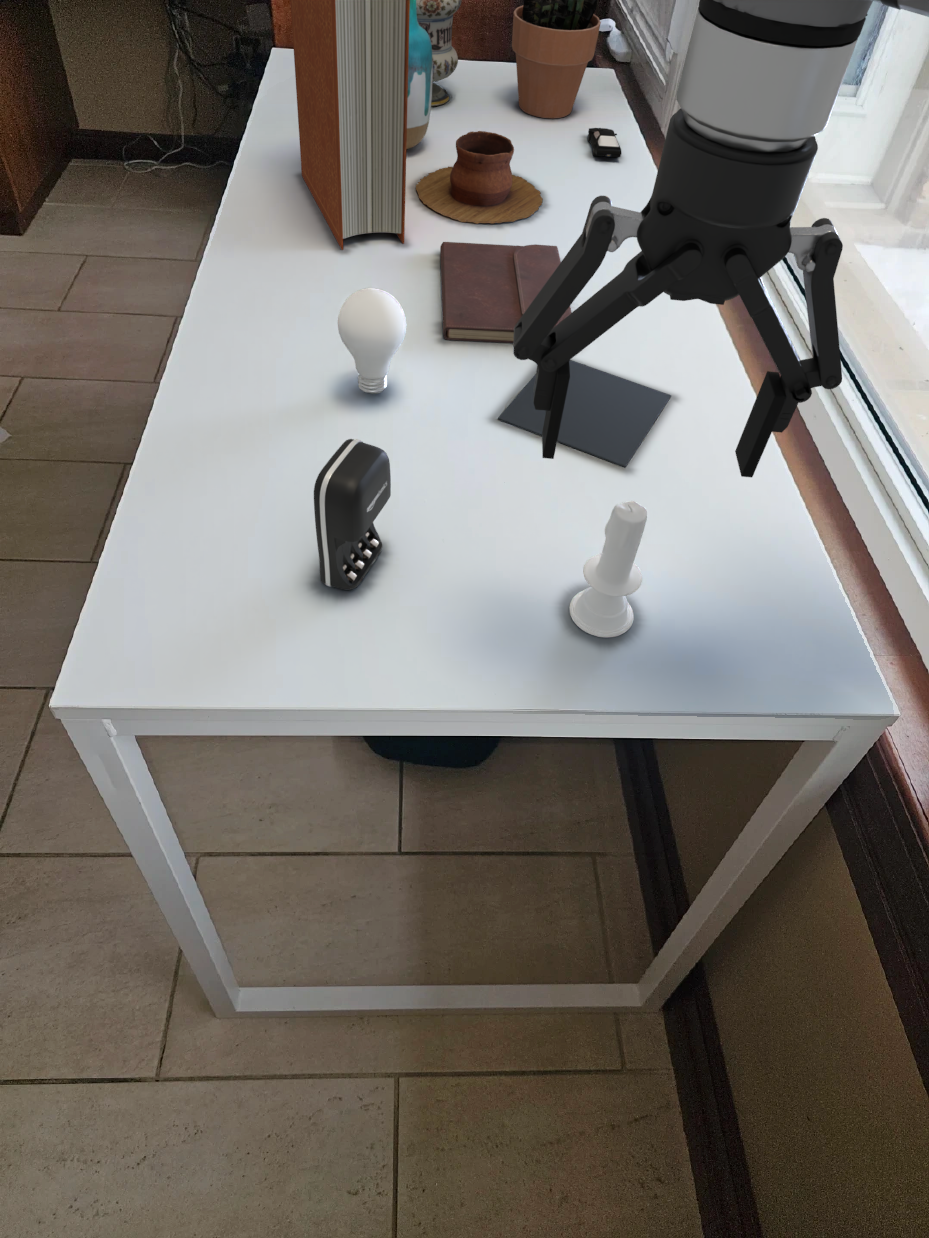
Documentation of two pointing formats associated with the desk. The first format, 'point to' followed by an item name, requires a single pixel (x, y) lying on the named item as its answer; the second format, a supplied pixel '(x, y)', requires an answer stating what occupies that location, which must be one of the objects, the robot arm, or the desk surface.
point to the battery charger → (350, 512)
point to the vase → (418, 80)
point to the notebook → (491, 287)
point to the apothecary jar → (439, 40)
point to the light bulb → (372, 334)
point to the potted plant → (553, 53)
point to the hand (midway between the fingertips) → (645, 455)
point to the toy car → (604, 142)
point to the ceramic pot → (480, 183)
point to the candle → (612, 575)
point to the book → (353, 110)
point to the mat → (595, 413)
